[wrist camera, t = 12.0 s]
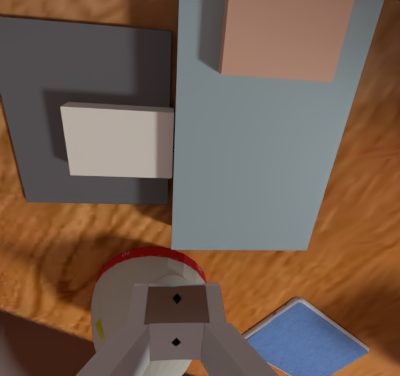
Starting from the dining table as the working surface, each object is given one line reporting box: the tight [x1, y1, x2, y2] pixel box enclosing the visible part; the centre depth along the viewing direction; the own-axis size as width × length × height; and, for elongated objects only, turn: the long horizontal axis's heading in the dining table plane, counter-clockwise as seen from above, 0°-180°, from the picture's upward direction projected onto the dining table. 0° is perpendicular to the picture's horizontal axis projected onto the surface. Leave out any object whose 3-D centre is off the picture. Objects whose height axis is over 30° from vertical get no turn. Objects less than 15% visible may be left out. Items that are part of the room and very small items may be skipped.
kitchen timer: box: [91, 247, 207, 376], centre depth 29 cm, size 14×14×15 cm
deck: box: [171, 0, 384, 250], centre depth 25 cm, size 14×22×4 cm, turn 176°
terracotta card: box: [218, 0, 354, 82], centre depth 19 cm, size 8×5×2 cm, turn 86°
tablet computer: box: [242, 297, 369, 376], centre depth 43 cm, size 19×13×1 cm, turn 47°
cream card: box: [60, 102, 174, 178], centre depth 25 cm, size 9×6×2 cm, turn 86°
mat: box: [0, 17, 171, 205], centre depth 25 cm, size 14×16×1 cm
